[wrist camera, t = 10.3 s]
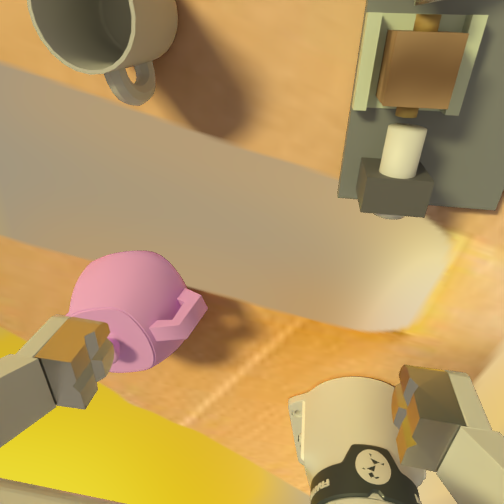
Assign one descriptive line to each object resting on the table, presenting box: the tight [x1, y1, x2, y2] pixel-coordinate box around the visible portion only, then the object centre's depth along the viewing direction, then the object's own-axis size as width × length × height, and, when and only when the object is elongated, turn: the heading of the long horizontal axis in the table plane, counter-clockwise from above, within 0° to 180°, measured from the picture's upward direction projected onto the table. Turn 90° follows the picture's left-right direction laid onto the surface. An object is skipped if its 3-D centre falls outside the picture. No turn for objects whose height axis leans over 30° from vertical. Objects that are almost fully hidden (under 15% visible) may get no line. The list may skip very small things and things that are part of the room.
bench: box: [337, 0, 504, 219], centre depth 27 cm, size 23×14×6 cm, turn 179°
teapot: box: [65, 251, 208, 373], centre depth 43 cm, size 13×20×11 cm, turn 107°
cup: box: [27, 0, 178, 106], centre depth 28 cm, size 7×10×9 cm
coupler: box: [376, 14, 469, 118], centre depth 27 cm, size 7×4×4 cm
